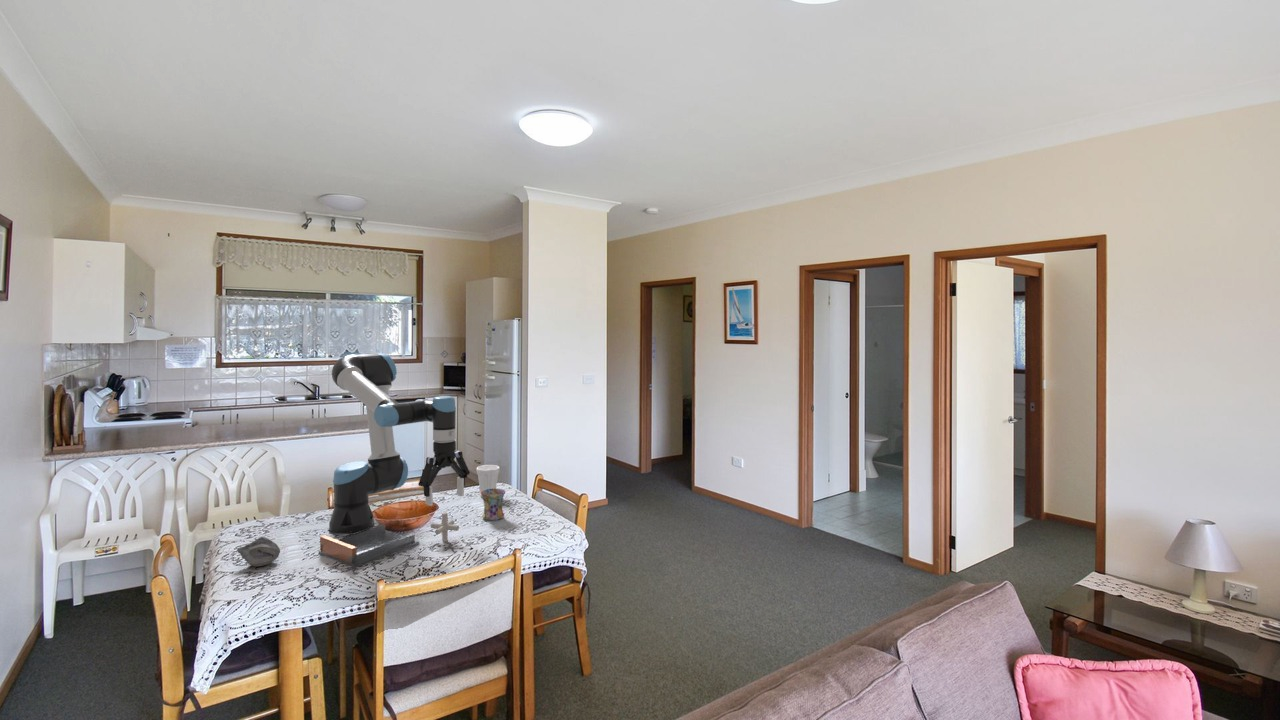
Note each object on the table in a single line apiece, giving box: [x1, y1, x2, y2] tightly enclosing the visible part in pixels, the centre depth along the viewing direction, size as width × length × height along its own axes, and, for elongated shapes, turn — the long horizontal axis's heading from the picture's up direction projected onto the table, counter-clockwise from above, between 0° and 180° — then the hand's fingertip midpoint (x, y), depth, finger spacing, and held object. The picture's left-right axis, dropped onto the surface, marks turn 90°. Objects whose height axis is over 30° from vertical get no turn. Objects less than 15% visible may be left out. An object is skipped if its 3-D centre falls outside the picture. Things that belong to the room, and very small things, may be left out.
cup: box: [476, 464, 501, 498], centre depth 260 cm, size 10×10×13 cm
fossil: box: [237, 536, 281, 567], centre depth 186 cm, size 11×9×8 cm
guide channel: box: [318, 523, 420, 569], centre depth 200 cm, size 24×20×6 cm
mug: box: [480, 487, 506, 521], centre depth 233 cm, size 12×9×11 cm
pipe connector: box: [430, 511, 460, 543], centre depth 208 cm, size 10×10×10 cm
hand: (445, 500), depth 207 cm, fingers open, 13 cm apart
